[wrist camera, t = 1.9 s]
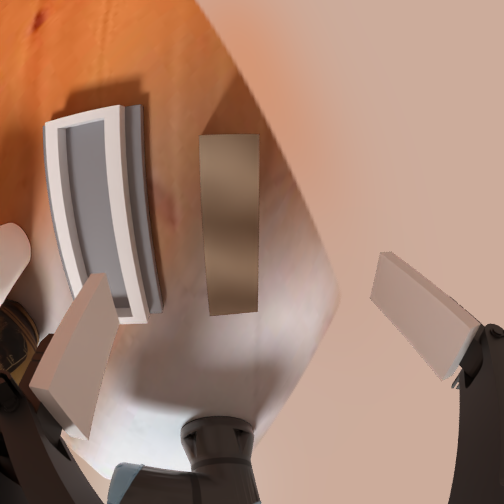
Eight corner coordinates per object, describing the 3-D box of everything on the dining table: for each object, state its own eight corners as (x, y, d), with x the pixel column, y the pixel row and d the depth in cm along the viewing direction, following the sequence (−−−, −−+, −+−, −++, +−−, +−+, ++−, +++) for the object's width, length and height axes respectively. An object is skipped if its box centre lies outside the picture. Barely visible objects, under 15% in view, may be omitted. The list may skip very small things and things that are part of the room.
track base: (163, 306, 33) (160, 322, 30) (82, 308, 31) (73, 324, 28) (143, 106, 24) (135, 102, 21) (49, 126, 22) (33, 126, 19)
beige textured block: (239, 257, 33) (257, 311, 23) (206, 260, 32) (209, 315, 22) (238, 136, 27) (259, 134, 17) (200, 137, 26) (198, 135, 16)
